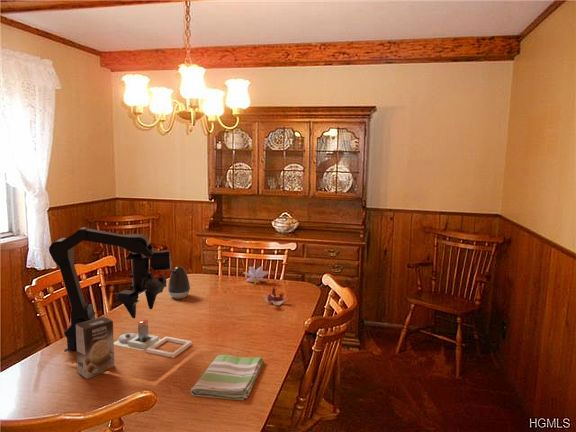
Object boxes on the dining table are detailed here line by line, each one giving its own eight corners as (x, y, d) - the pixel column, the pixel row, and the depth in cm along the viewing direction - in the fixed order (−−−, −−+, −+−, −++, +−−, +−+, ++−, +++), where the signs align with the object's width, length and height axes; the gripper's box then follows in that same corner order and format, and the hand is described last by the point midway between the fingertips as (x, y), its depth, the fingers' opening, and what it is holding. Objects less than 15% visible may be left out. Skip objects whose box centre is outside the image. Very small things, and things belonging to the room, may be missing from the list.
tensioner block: (143, 353, 147) (143, 345, 147) (111, 346, 152) (111, 338, 151) (161, 341, 156) (161, 333, 156) (130, 335, 161) (130, 328, 161)
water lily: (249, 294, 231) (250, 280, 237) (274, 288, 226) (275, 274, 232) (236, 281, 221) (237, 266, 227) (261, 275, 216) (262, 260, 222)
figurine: (284, 310, 189) (284, 295, 188) (259, 308, 191) (259, 294, 190) (289, 299, 204) (289, 285, 203) (265, 297, 206) (265, 284, 205)
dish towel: (188, 396, 122) (188, 385, 122) (215, 359, 145) (215, 349, 144) (246, 403, 119) (246, 391, 119) (264, 363, 142) (264, 353, 141)
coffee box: (87, 379, 130) (84, 329, 127) (77, 372, 134) (74, 323, 131) (115, 368, 137) (113, 320, 134) (105, 362, 141) (103, 315, 138)
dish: (173, 360, 142) (173, 354, 142) (146, 354, 146) (146, 349, 146) (191, 346, 152) (191, 341, 152) (166, 341, 156) (165, 336, 156)
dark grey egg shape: (163, 299, 202) (162, 267, 200) (176, 292, 212) (175, 262, 209) (182, 301, 199) (181, 270, 196) (194, 294, 208) (193, 264, 206)
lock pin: (144, 345, 151) (143, 324, 150) (136, 344, 152) (135, 322, 151) (150, 341, 154) (150, 320, 153) (142, 340, 155) (142, 319, 154)
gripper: (142, 280, 138) (144, 326, 140) (176, 266, 155) (177, 307, 158) (114, 276, 142) (116, 321, 144) (150, 263, 159) (152, 303, 161)
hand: (142, 313), depth 152 cm, fingers open, 9 cm apart
